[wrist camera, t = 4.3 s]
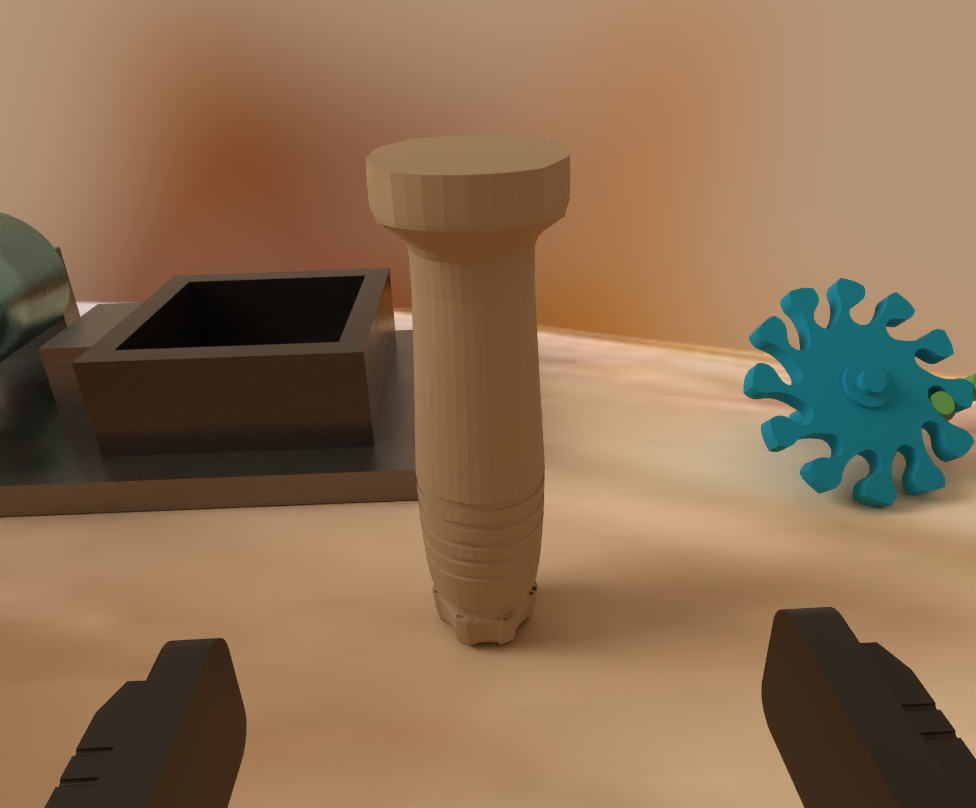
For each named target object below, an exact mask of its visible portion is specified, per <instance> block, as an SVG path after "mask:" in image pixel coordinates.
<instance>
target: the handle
mask: <svg viewBox="0 0 976 808" xmlns="http://www.w3.org/2000/svg"><path fill="white" fill-rule="evenodd" d="M366 173H367V186H368V194H369V204H370V208H371V210H372V213H373V215H374V217H375V220H376V223H378V224H379V225H381V226H383V227H384V228H386V229H388V230H389V231H391V232H393V233H395V234H396V235H398V236H399V237H400V238H401V239H402V240H404V241H405V243H406V245H407V247H408V251H409V262H410V274H411V285H412V318H413V354H414V400H415V457H416V476H417V491H418V501H419V511H420V519H421V525H422V530H423V538H424V544H425V551H426V556H427V560H428V565H429V569H430V573H431V576H432V580H433V583H434V585H433V595H434V600H435V605H436V608H437V611H438V614H439V617H440V619H441V620H443V621H444V622H447V623H449V624H450V625H451V626H452V627H453V628H454V629H455V631H456V634H457V639H458V640H459V641H461V642H463V643H465V644H468V645H474V644H476V643H481V642H495V643H499V644H500V645H501V644H504V643H507V642H509V641H511V640H513V639H514V637H515V633H516V629H517V627H518V626H519V625H520V624H521V623H522V622H523V621H524V620H527V619H528V618H529V617H530V616H531V615H532V613H533V609H534V605H535V599H536V590H537V584H536V580H535V579H536V575H537V570H538V565H539V558H540V550H541V540H542V525H543V514H544V512H543V508H544V470H545V463H544V446H543V429H542V413H541V396H540V379H539V361H538V341H537V321H536V300H535V281H534V280H535V279H534V278H535V276H534V275H535V243H536V241H537V238H538V236H539V235H540V234H541V233H542V232H543V231H544V230H545V229H547V228H549V227H550V226H551V225H553V224H554V223H556V222H557V221H559V220H560V219H561V218H563V217H564V216H565V213H566V209H567V206H568V203H569V195H570V154H569V151H568V149H567V148H566V147H565V146H564V145H563V144H561V143H559V142H555V141H552V140H547V139H542V138H537V137H532V136H526V135H456V136H438V137H426V138H417V139H409V140H405V141H402V142H397V143H394V144H390V145H386V146H383V147H380V148H377V149H375V150H374V151H372V152H371V153H370V154H369V156H368V157H367V158H366Z"/></svg>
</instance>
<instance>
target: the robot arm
mask: <svg viewBox="0 0 976 808" xmlns="http://www.w3.org/2000/svg"><path fill="white" fill-rule="evenodd" d="M761 691H762V703H763V709H764V714H765V718H766V721H767V724H768V727H769V730H770V732H771V734H772V737H773V739H774V741H775V743H776V745H777V748H778V750H779V752H780V754H781V757H782V759H783V761H784V763H785V765H786V768H787V770H788V772H789V774H790V777H791V779H792V781H793V783H794V785H795V788H796V790H797V792H798V794H799V797H800V799H801V801H802V803H803V805H804V808H976V759H975V757H974V756H973V755H972V753H971V752H970V750H969V749H968V748H967V746H966V745H965V743H964V742H963V741H962V739H961V738H957V737H956V734H955V730H954V728H953V727H952V725H951V724H950V723H949V721H948V720H947V718H946V717H945V716H944V714H943V713H942V711H941V710H937V709H936V706H935V702H934V700H933V699H932V698H931V696H930V695H929V693H928V692H927V691H926V689H925V688H924V686H923V685H922V684H921V682H920V681H919V679H918V678H917V677H916V675H915V674H914V672H913V671H912V670H911V669H910V668H909V667H907V666H906V665H905V664H904V663H902V662H901V661H900V660H899V659H897V658H896V657H895V656H893V655H892V654H891V653H890V652H888V651H887V650H886V649H885V648H883V647H882V646H881V645H880V644H878V643H877V642H873V643H860V642H859V641H858V639H857V638H856V636H855V635H854V633H853V632H852V630H851V629H850V627H849V626H848V624H847V623H846V621H845V620H844V618H843V617H842V616H841V614H840V613H839V612H838V611H837V610H836V609H834V608H832V607H819V608H801V609H783V610H779V611H777V613H776V614H775V616H774V620H773V625H772V631H771V636H770V641H769V647H768V652H767V658H766V663H765V669H764V674H763V680H762V690H761ZM245 742H246V713H245V708H244V704H243V701H242V697H241V693H240V689H239V686H238V682H237V678H236V674H235V671H234V667H233V663H232V659H231V656H230V652H229V648H228V645H227V643H226V641H225V640H224V639H222V638H214V639H196V640H177V641H169V642H167V643H166V644H165V645H164V646H163V647H162V649H161V651H160V653H159V655H158V657H157V659H156V661H155V663H154V665H153V667H152V669H151V671H150V673H149V675H148V677H147V679H146V681H128V682H126V683H125V684H124V685H123V686H122V687H121V688H120V689H119V690H118V691H117V692H116V693H115V694H114V695H113V696H112V697H111V698H110V699H109V700H108V701H107V702H106V703H105V704H104V705H103V706H102V707H101V708H100V709H99V710H98V711H97V712H96V713H95V715H94V717H93V719H92V721H91V722H90V724H89V726H88V728H87V730H86V732H85V734H84V735H83V737H82V739H81V741H80V743H79V745H78V747H77V748H76V755H75V756H72V758H71V760H70V761H69V763H68V765H67V767H66V769H65V771H64V773H63V774H62V776H61V778H60V785H59V787H55V789H54V791H53V793H52V795H51V797H50V799H49V800H48V802H47V804H46V806H45V808H228V804H229V801H230V798H231V794H232V791H233V788H234V784H235V781H236V778H237V774H238V771H239V768H240V764H241V761H242V757H243V753H244V748H245Z"/></svg>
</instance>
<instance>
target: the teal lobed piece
mask: <svg viewBox="0 0 976 808" xmlns="http://www.w3.org/2000/svg"><path fill="white" fill-rule="evenodd" d="M864 296H865V288H864V286H862V285H861V284H859V283H856V282H854V281H851V280H848V279H843V278H840V279H839V280H838V281H837V282H835V283H834V284H833V285H832V286H831V287H830V288H829V289H828V290H827V299H828V302H829V306H830V320H829V323H828V326H827V328H826V329H824V328H822V327H820V326H819V325H818V324H817V323H816V322H815V320H814V311H815V309H816V307H817V305H818V302H819V298H818V295H817V293H816V291H815V290H814V289H813V288H800V289H796V290H793V291H790V292H789V293H788V294H787V295H786V296H784V298H782V299H781V308H782V310H783V311H784V313H785V314H786V315H787V316H788V317H789V318H790V319H791V321H792V322H793V324H794V326H795V327H796V330H797V332H798V336H799V342H800V350H796V349H794V348H793V347H792V346H791V345H790V344H789V342H788V338H787V330H786V326H785V324H784V323H783V322H782V320H781V319H779V318H778V317H776V316H773V317H770V318H769V319H767V320H766V321H765V322H764V323H762V324H761V325H760V326H759V327H758V328H757V329H756V330H755V331H754V332H753V333H752V334H751V335H750V337H749V340H750V342H751V343H752V345H753V346H754V347H755V348H757V349H759V350H762V351H764V352H766V353H768V354H770V355H772V356H773V357H774V358H776V359H777V360H778V361H779V362H780V363H781V365H782V366H783V367H784V368H785V370H786V371H787V373H788V374H789V376H790V378H791V381H792V384H791V385H787V384H785V383H784V382H783V381H782V380H781V379H780V377H779V376H778V374H777V373H776V371H775V370H774V369H773V368H772V367H771V366H769V365H767V364H764V363H758V364H756V365H755V366H754V367H753V368H751V369H750V370H749V371H748V373H747V374H746V377H745V381H744V391H743V393H744V394H745V395H746V396H748V397H749V398H752V399H762V398H771V399H776V400H779V401H782V402H784V403H786V404H788V405H790V406H791V407H793V408H795V409H796V410H797V411H795V412H794V413H792V414H791V415H790V416H789V418H787V417H785V416H775V417H773V418H772V419H770V420H768V421H767V422H765V423H763V424H762V425H761V432H762V436H763V439H764V442H765V444H766V446H767V448H768V450H769V451H772V452H778V451H781V450H783V449H785V448H787V447H789V446H791V445H793V444H794V443H795V442H796V441H797V440H798V439H803V438H814V439H822V440H824V441H825V442H827V443H828V444H829V446H830V448H831V452H832V454H831V458H825V457H823V458H818V459H815V460H813V461H811V462H809V463H806V464H805V465H804V466H803V467H802V468H801V470H800V474H801V476H802V478H803V479H804V480H805V482H806V483H807V484H808V485H809V486H810V487H811V488H813V489H814V490H815V491H816V492H818V493H823V492H826V491H828V490H831V489H834V488H836V487H837V486H838V485H839V484H840V482H841V478H842V473H843V470H844V467H845V466H846V464H847V462H848V461H849V460H850V459H851V458H852V457H854V456H855V455H856V454H857V455H861V456H863V457H864V458H865V459H866V460H867V461H868V463H869V466H870V471H869V474H868V475H867V476H866V477H865V478H863V479H862V480H860V481H858V482H857V483H856V484H855V486H854V488H853V496H854V499H855V500H857V501H858V502H860V503H862V504H865V505H868V506H872V507H880V508H881V507H885V506H888V505H892V504H893V503H894V501H895V499H896V490H895V487H894V484H893V481H892V475H891V467H892V462H893V458H894V456H895V453H896V451H899V452H900V453H901V454H902V455H903V456H904V458H905V460H906V468H905V471H904V473H903V476H902V485H903V488H904V490H905V491H906V492H907V494H910V495H917V494H922V493H926V492H929V491H933V490H936V489H939V488H942V487H944V486H945V478H944V476H943V474H942V472H941V471H940V470H939V469H938V468H937V467H936V466H935V465H934V463H933V462H932V461H931V459H930V458H929V456H928V454H927V452H926V449H925V447H924V443H923V438H922V432H921V428H924V429H925V430H926V431H927V432H928V433H929V435H930V439H931V444H932V449H933V452H934V454H935V455H936V456H937V457H938V458H939V459H940V460H942V461H944V462H947V461H950V460H953V459H956V458H959V457H961V456H963V455H964V454H966V453H967V452H968V450H969V449H970V448H971V446H972V444H973V443H974V440H973V438H972V436H971V435H970V434H969V433H968V432H967V431H965V430H964V429H961V428H958V427H956V426H954V425H952V424H951V423H949V422H948V420H950V419H952V418H953V416H954V415H955V413H957V412H960V411H962V410H964V409H967V408H969V407H971V405H972V402H973V401H975V400H976V374H974V375H971V376H969V377H967V378H965V379H961V378H958V379H944V378H940V377H937V376H934V375H932V374H931V373H929V372H927V371H925V370H923V369H922V368H921V367H919V366H918V365H917V363H916V361H915V357H917V358H919V359H921V360H922V361H924V362H926V363H929V364H935V363H938V362H940V361H942V360H943V359H945V358H947V357H949V356H951V355H953V354H954V353H953V348H952V344H951V342H950V340H949V338H948V336H947V334H946V333H945V331H943V330H939V329H936V330H933V331H931V332H930V333H928V334H926V335H924V336H923V337H921V338H919V339H918V340H915V341H901V340H895V339H893V338H892V337H891V336H889V334H888V333H887V330H886V327H896V326H898V325H900V324H901V323H903V322H904V321H906V320H907V319H909V318H911V317H912V316H913V314H914V312H915V310H914V308H913V307H912V305H911V304H910V303H909V302H908V301H907V300H906V299H904V298H903V297H902V296H901V295H899V294H898V293H892V294H891V295H889V296H888V297H886V298H885V299H883V300H882V301H881V302H879V303H878V304H877V306H876V308H875V314H874V316H873V318H872V320H871V322H870V323H869V324H867V325H859V324H857V323H855V322H854V321H853V320H852V319H851V317H850V314H849V310H850V308H852V307H853V306H854V305H856V304H857V303H859V302H860V301H861V300H862V299H863V298H864Z"/></svg>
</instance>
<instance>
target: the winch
mask: <svg viewBox="0 0 976 808" xmlns="http://www.w3.org/2000/svg"><path fill="white" fill-rule="evenodd" d="M399 500H418V491H417V476H416V457H415V400H414V354H413V330H399V331H395V323H394V312H393V301H392V290H391V279H390V269H389V268H385V269H359V270H331V271H301V272H276V273H275V272H273V273H245V274H216V275H188V276H174V277H173V278H172V279H170V280H169V281H168V282H167V283H166V284H164V285H163V286H162V287H161V288H160V289H159V290H157V291H156V292H155V293H154V294H153V295H151V296H150V297H149V298H148V299H147V300H146V301H144V302H143V303H119V304H98V305H96V306H95V307H93V308H92V309H91V310H89V311H88V312H87V313H85V314H84V315H83V316H81V317H80V314H79V311H78V307H77V304H76V301H75V297H74V294H73V291H72V287H71V284H70V281H69V277H68V274H67V271H66V267H65V264H64V261H63V258H62V254H61V250H60V248H59V247H53V246H52V245H51V244H50V243H49V241H48V240H47V239H46V238H45V237H44V236H42V234H40V233H39V232H38V231H37V230H35V229H34V228H33V227H31V226H30V225H28V224H27V223H25V222H23V221H21V220H19V219H17V218H15V217H12V216H10V215H7V214H3V213H0V517H2V516H27V515H52V514H77V513H101V512H126V511H151V510H176V509H201V508H225V507H250V506H275V505H300V504H324V503H349V502H374V501H399Z"/></svg>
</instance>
